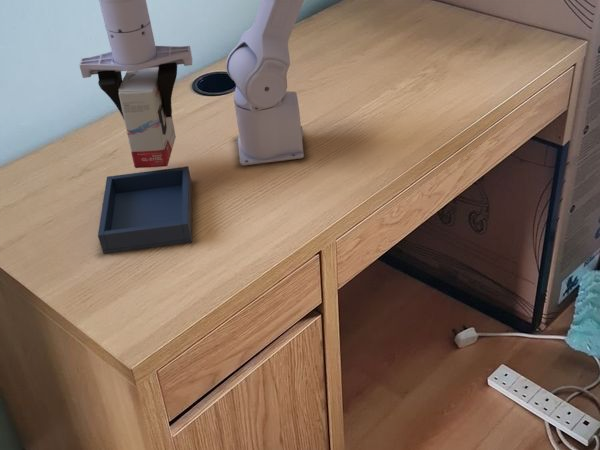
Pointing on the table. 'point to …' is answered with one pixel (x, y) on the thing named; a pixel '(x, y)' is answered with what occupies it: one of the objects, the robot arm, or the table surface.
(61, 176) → the table surface
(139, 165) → the ink box
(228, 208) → the table surface
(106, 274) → the table surface
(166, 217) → the dark blue tray
